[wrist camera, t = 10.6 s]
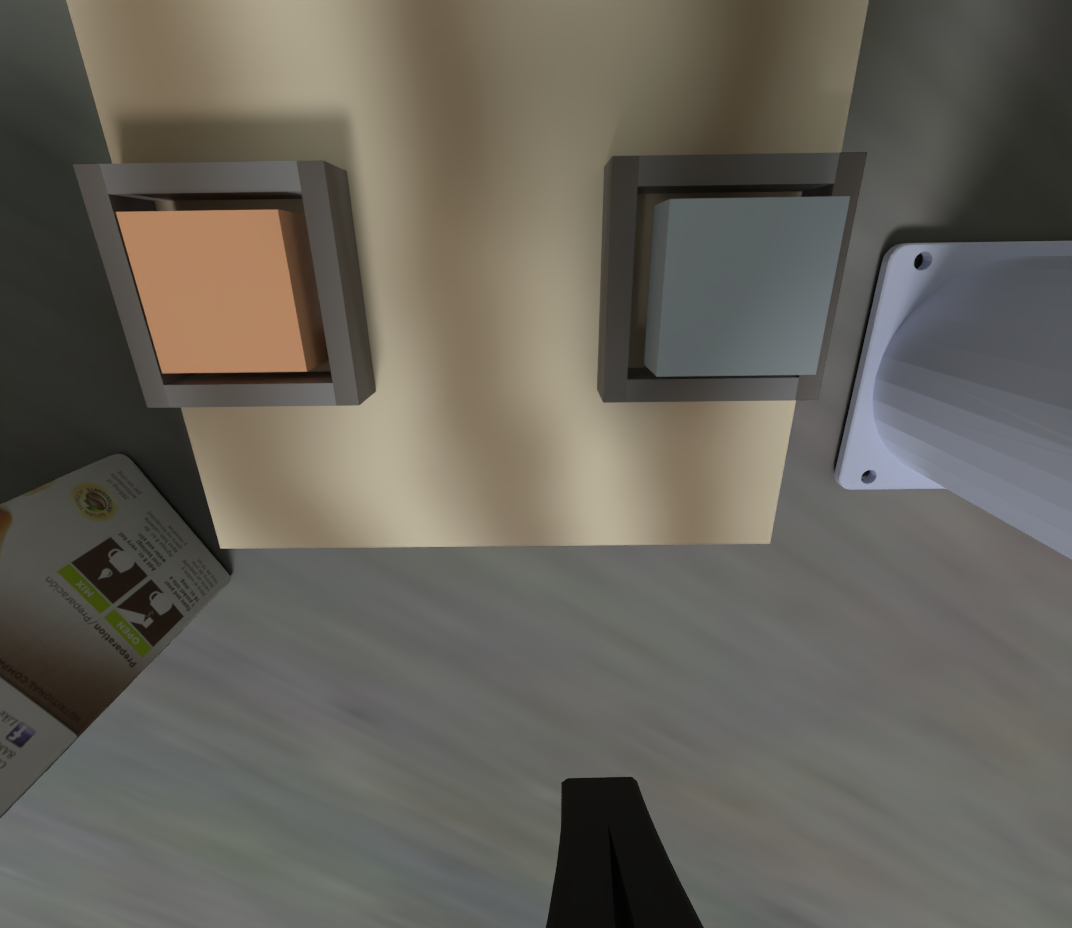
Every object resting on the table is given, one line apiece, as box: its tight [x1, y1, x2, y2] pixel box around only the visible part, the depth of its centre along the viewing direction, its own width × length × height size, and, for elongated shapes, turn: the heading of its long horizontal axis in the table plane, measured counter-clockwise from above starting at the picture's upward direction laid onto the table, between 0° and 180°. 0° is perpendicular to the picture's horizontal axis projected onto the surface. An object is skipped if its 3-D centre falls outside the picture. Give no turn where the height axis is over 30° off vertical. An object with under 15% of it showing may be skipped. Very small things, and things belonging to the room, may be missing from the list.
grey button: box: [644, 196, 850, 377], centre depth 12 cm, size 4×4×2 cm
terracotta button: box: [116, 209, 329, 373], centre depth 13 cm, size 4×4×2 cm
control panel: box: [66, 0, 869, 549], centre depth 13 cm, size 18×24×4 cm
